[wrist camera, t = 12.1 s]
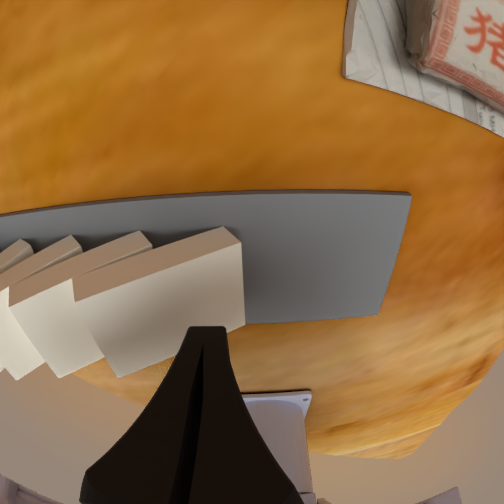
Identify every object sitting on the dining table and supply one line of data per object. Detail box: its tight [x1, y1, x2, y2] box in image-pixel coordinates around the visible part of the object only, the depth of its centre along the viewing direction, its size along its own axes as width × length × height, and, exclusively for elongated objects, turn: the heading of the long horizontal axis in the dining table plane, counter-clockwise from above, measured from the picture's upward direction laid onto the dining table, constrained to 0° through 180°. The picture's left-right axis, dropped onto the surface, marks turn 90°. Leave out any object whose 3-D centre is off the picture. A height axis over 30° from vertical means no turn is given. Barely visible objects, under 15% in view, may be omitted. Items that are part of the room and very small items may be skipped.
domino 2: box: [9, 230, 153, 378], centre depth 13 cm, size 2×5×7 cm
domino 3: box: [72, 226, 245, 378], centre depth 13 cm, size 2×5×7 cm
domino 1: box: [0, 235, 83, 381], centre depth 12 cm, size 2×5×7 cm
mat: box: [0, 190, 412, 324], centre depth 15 cm, size 8×28×1 cm, turn 91°
